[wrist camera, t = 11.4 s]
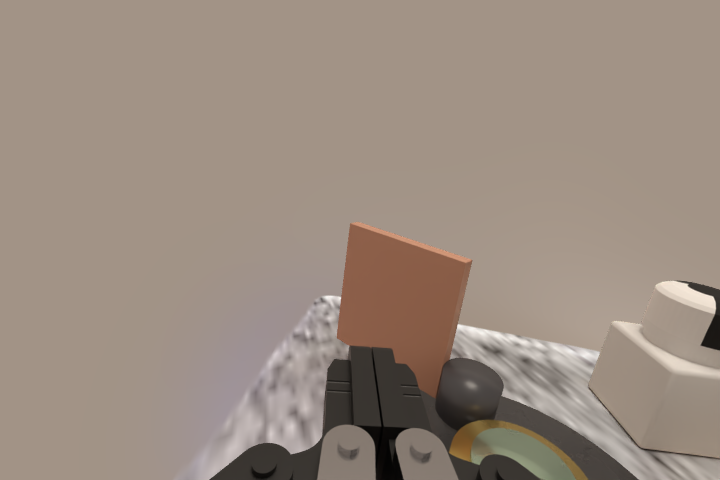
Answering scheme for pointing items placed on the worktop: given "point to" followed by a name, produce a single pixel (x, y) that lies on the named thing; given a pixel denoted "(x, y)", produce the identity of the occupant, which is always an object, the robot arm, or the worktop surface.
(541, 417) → the levelling base
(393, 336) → the terracotta flat panel
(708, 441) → the medicine bottle
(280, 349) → the worktop surface
